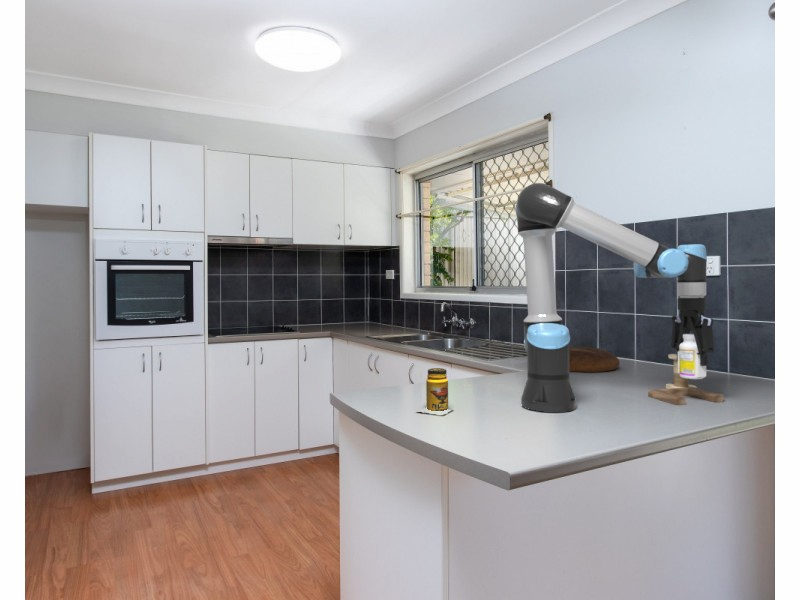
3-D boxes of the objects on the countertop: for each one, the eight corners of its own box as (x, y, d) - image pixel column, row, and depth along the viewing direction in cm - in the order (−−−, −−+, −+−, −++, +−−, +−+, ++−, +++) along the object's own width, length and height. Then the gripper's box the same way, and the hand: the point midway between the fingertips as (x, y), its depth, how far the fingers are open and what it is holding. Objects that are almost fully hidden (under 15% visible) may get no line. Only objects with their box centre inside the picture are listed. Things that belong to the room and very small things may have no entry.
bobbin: (679, 393, 169) (679, 357, 168) (659, 387, 178) (659, 354, 177) (703, 391, 171) (703, 356, 170) (682, 386, 180) (682, 353, 179)
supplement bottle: (698, 375, 161) (698, 333, 160) (709, 379, 154) (709, 335, 154) (675, 375, 162) (675, 333, 161) (684, 379, 155) (684, 335, 154)
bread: (588, 376, 201) (588, 353, 201) (534, 367, 224) (534, 346, 224) (634, 369, 216) (635, 347, 216) (580, 361, 239) (580, 341, 239)
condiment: (443, 416, 143) (442, 372, 143) (415, 413, 147) (414, 369, 147) (454, 410, 149) (453, 368, 149) (427, 407, 154) (426, 366, 153)
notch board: (676, 405, 153) (676, 398, 153) (648, 396, 165) (648, 389, 165) (723, 401, 156) (723, 394, 156) (692, 393, 168) (692, 387, 168)
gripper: (729, 297, 148) (729, 379, 149) (678, 296, 167) (678, 368, 168) (707, 298, 147) (706, 381, 147) (657, 296, 166) (657, 370, 167)
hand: (691, 374), depth 158 cm, fingers closed on supplement bottle, 7 cm apart
